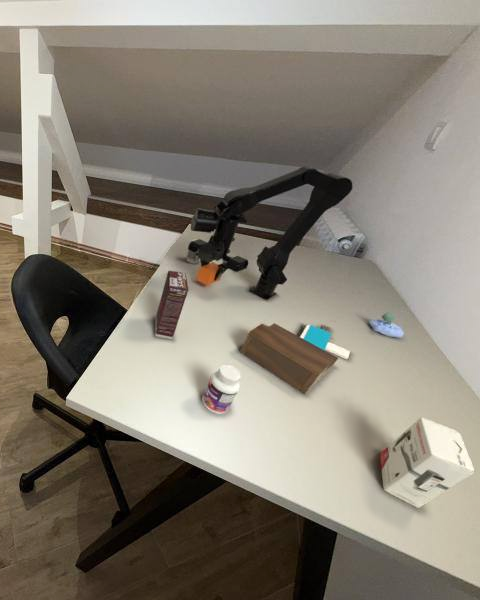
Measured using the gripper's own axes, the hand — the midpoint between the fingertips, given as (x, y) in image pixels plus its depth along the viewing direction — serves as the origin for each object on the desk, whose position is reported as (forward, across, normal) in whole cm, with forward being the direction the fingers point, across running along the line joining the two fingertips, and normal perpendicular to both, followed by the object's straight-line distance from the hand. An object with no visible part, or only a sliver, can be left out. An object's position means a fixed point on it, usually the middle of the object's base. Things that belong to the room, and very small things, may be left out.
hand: (208, 277), depth 105 cm
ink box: (+4, +59, -27) cm, 65 cm away
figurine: (+4, +44, +27) cm, 52 cm away
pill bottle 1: (+4, -15, +12) cm, 20 cm away
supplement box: (+4, +8, -31) cm, 32 cm away
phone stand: (+4, +36, +2) cm, 36 cm away
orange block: (+1, 0, 0) cm, 1 cm away
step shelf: (+4, +33, -14) cm, 36 cm away
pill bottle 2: (+4, +31, -41) cm, 52 cm away
